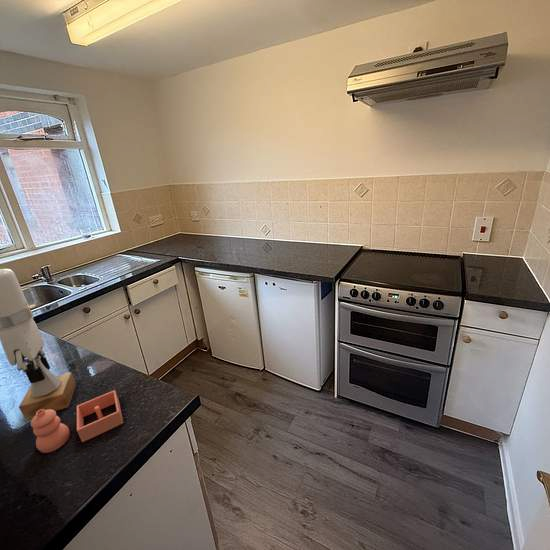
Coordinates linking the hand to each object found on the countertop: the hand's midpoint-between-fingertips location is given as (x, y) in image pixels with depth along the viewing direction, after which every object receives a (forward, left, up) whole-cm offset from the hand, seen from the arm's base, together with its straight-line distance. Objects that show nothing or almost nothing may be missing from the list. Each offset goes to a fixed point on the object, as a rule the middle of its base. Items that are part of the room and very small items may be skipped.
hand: (40, 375), depth 82 cm
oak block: (0, 0, -10) cm, 10 cm away
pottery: (+10, -15, -10) cm, 21 cm away
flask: (0, 0, -5) cm, 5 cm away
